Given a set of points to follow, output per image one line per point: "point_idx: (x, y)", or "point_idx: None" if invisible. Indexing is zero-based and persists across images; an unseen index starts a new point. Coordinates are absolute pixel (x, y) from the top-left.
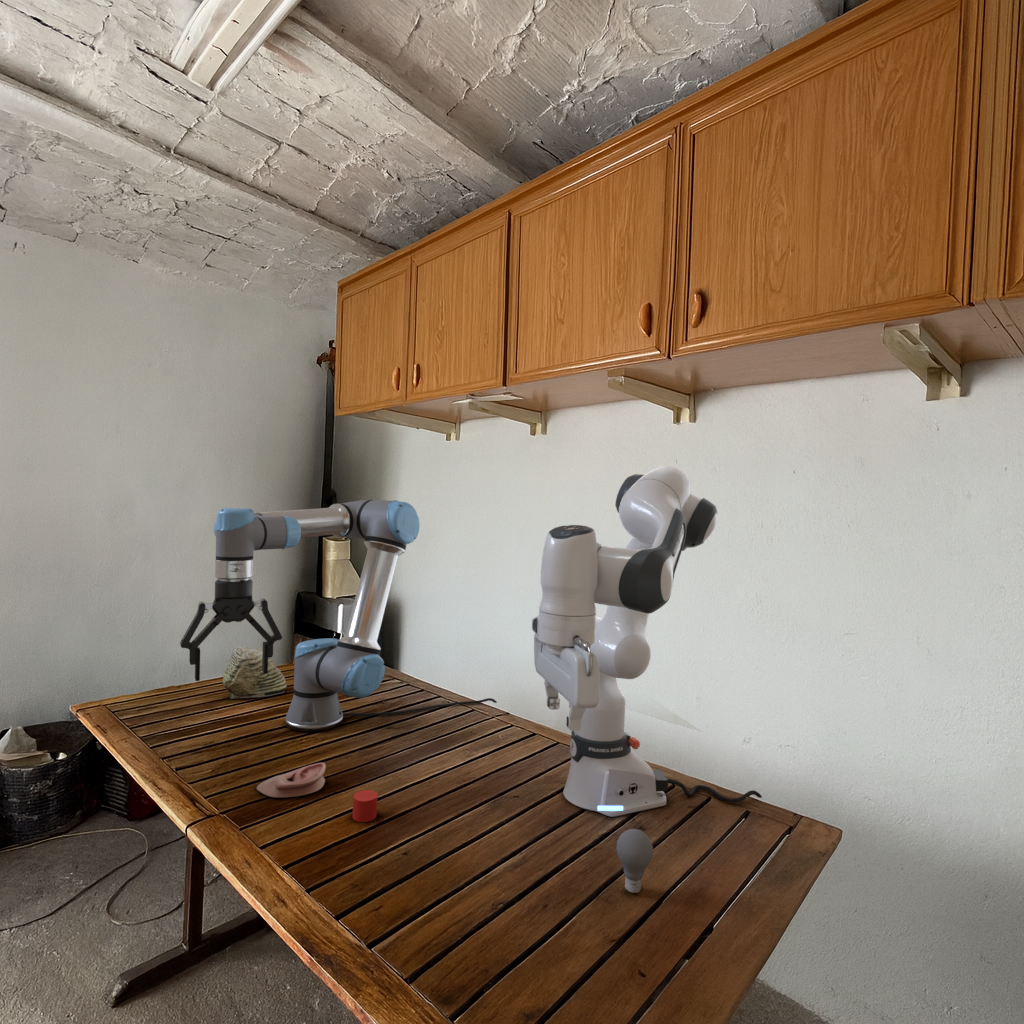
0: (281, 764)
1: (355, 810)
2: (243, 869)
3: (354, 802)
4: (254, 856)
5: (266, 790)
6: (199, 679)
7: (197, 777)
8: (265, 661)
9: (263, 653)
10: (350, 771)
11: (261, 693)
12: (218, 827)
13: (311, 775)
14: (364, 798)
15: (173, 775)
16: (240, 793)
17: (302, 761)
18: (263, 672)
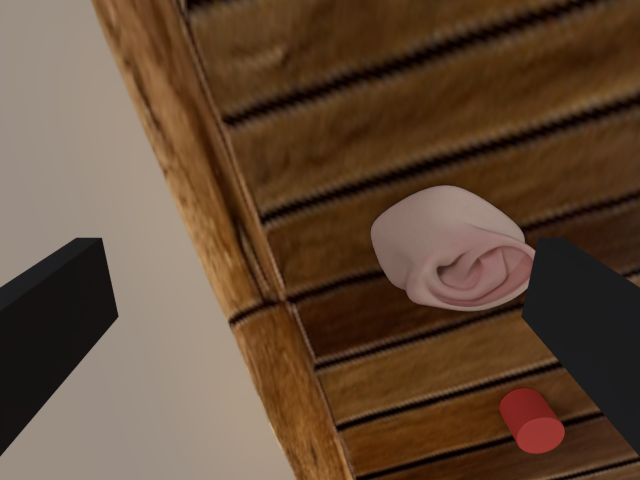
0: (465, 97)
1: (507, 425)
2: (305, 465)
3: (513, 433)
4: (324, 444)
5: (386, 264)
6: (113, 322)
7: (244, 91)
8: (580, 373)
9: (625, 368)
10: (598, 217)
11: None
12: (280, 348)
13: (492, 282)
14: (532, 445)
15: (182, 47)
16: (335, 230)
17: (522, 100)
18: (527, 296)
